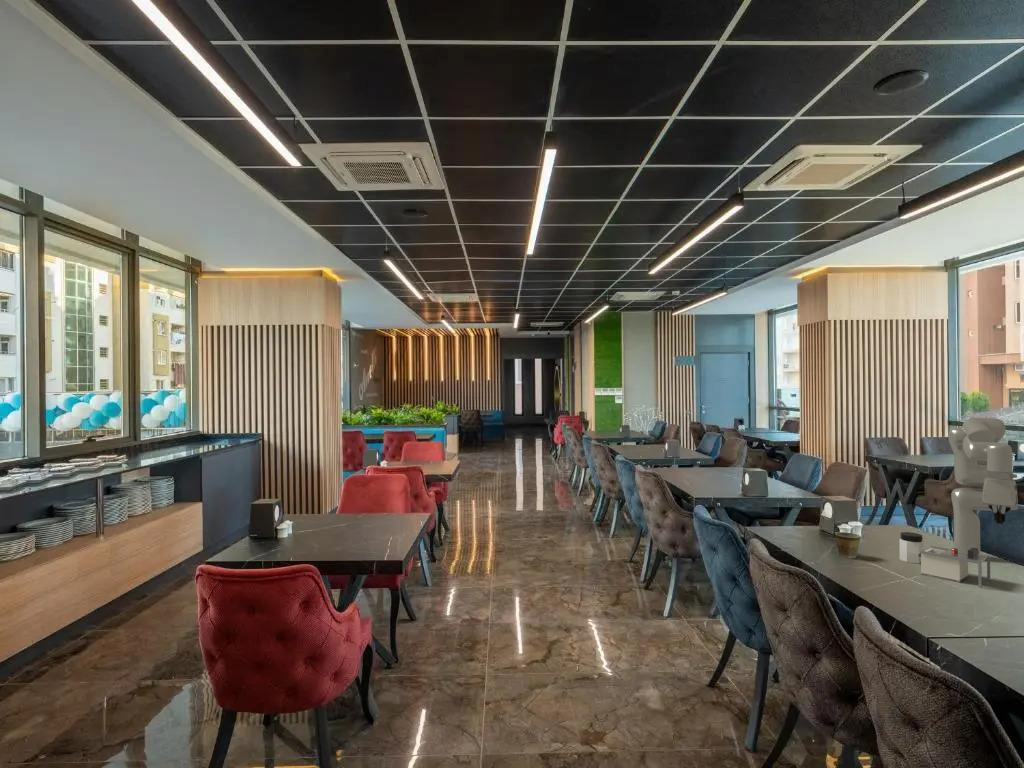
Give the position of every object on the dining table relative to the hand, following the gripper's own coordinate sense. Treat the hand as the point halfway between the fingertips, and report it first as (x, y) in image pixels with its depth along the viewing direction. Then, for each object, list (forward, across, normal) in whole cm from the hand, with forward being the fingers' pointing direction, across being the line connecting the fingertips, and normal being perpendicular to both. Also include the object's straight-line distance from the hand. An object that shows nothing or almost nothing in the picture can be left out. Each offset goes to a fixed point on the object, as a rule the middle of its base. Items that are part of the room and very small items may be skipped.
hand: (999, 523), depth 227 cm
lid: (+16, +12, 0) cm, 20 cm away
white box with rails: (+25, +16, 0) cm, 29 cm away
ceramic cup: (+25, +56, 0) cm, 61 cm away
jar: (+25, +34, -14) cm, 45 cm away
